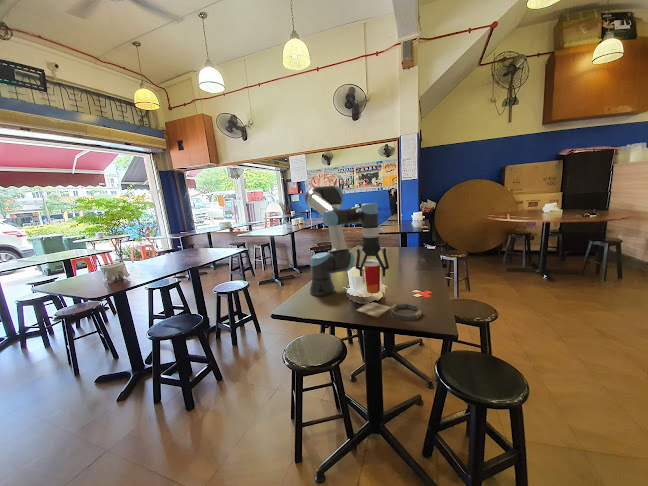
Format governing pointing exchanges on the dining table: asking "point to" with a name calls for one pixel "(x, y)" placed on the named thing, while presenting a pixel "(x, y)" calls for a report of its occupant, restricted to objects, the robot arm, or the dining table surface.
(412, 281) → the dining table surface
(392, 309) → the collar
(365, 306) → the plate
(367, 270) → the coffee cup
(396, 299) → the dining table surface
